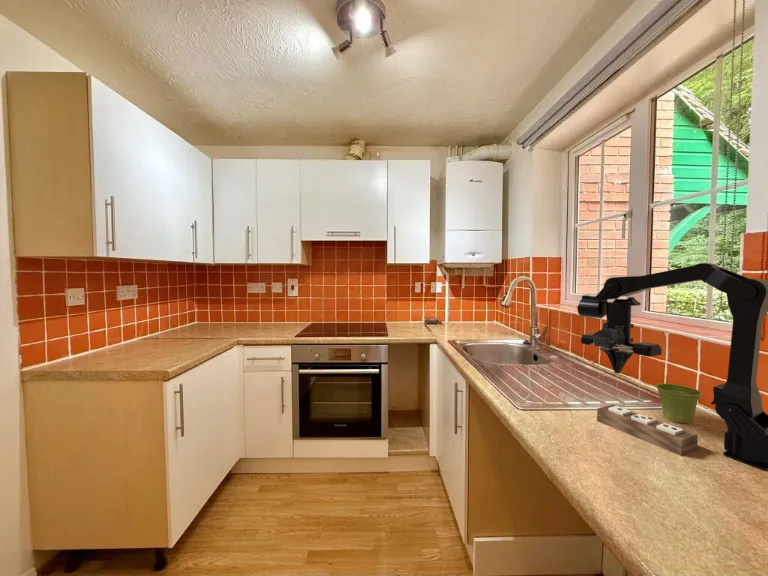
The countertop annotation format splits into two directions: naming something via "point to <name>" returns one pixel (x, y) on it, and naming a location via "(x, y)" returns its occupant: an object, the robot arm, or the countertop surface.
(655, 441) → the tile board
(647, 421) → the tile three dot
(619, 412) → the tile one dot
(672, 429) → the tile two dot
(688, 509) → the countertop surface
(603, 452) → the countertop surface
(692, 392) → the plant pot
